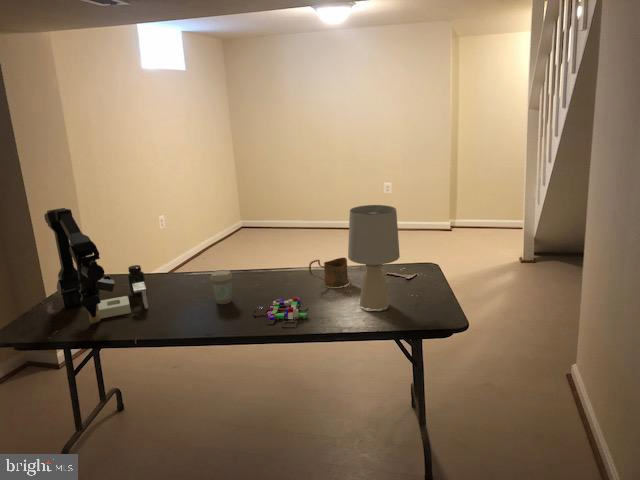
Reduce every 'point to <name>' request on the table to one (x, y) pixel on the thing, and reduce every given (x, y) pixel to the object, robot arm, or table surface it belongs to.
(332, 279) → the mug
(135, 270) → the supplement bottle
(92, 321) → the peg
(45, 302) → the table surface
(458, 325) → the table surface
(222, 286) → the coffee cup
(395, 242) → the lamp
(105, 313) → the socket block
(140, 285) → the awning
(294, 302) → the building block set
